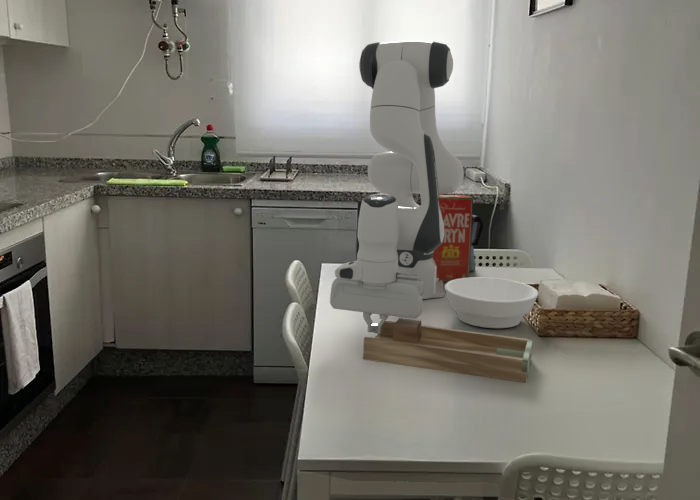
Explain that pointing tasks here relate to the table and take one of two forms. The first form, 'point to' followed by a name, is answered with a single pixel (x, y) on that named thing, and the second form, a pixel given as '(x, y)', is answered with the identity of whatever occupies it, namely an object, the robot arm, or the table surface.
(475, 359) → the trap lane
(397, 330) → the walnut block
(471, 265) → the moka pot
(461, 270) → the food packaging
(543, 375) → the table surface
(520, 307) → the bowl
